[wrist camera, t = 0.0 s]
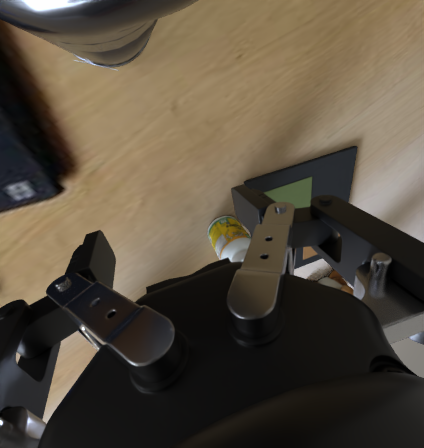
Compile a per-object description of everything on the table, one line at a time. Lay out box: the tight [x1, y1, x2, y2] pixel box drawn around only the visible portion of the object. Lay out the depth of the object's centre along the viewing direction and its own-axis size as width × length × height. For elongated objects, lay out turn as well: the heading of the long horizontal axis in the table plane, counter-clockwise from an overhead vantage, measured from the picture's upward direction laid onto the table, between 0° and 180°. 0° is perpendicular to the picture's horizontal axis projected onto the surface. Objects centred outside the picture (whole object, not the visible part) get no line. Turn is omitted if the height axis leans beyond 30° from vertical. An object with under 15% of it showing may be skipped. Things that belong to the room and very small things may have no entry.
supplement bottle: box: [208, 216, 251, 262], centre depth 33 cm, size 5×5×10 cm
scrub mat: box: [244, 146, 357, 269], centre depth 41 cm, size 22×19×1 cm
